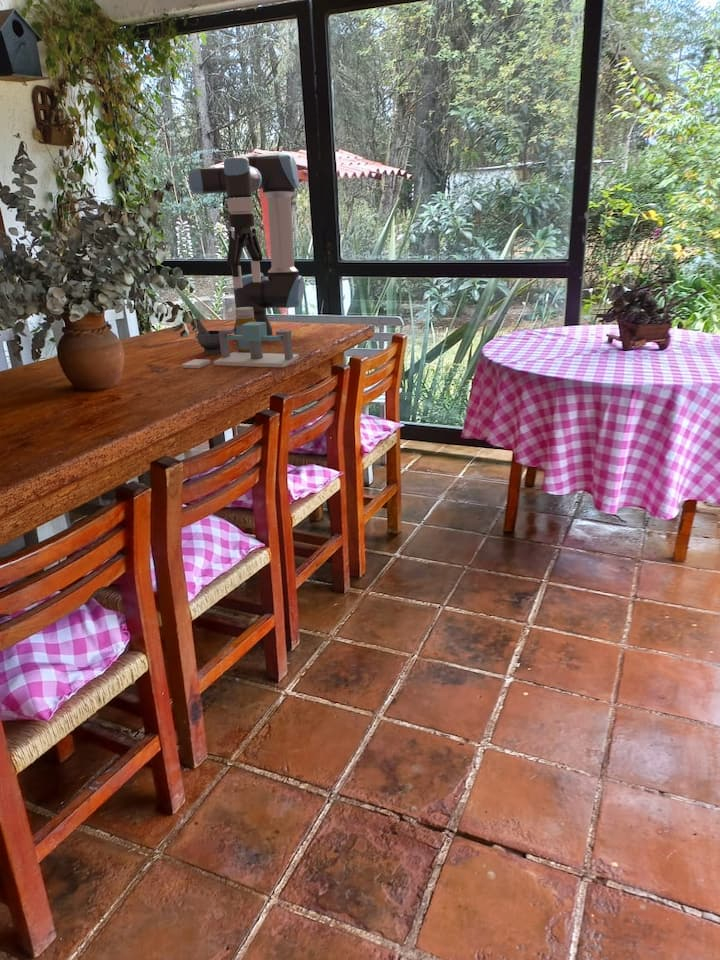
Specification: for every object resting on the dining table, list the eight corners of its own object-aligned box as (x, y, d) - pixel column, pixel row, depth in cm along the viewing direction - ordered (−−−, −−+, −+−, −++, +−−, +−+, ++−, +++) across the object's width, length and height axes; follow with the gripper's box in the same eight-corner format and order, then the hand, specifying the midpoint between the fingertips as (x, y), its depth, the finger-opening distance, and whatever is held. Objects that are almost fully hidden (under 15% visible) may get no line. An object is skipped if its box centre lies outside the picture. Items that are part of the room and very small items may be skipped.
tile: (194, 362, 232) (194, 359, 232) (210, 362, 231) (210, 359, 230) (182, 367, 225) (182, 364, 225) (198, 368, 224) (198, 365, 223)
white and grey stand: (233, 355, 240) (229, 322, 235) (299, 357, 233) (297, 324, 229) (214, 365, 227) (210, 330, 223) (283, 367, 221) (280, 332, 216)
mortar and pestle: (231, 349, 250) (227, 315, 245) (221, 355, 241) (217, 320, 237) (201, 349, 252) (197, 315, 247) (191, 355, 244) (186, 320, 239)
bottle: (254, 353, 242) (250, 309, 236) (235, 353, 243) (231, 309, 238) (261, 349, 248) (257, 306, 242) (242, 349, 250) (238, 306, 244)
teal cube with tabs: (232, 337, 233) (231, 321, 231) (285, 338, 227) (284, 322, 225) (224, 340, 227) (222, 324, 225) (278, 342, 222) (277, 325, 220)
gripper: (247, 211, 224) (254, 279, 233) (210, 215, 203) (218, 290, 211) (269, 211, 222) (274, 279, 230) (233, 214, 200) (241, 290, 209)
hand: (247, 284), depth 221 cm, fingers open, 13 cm apart
